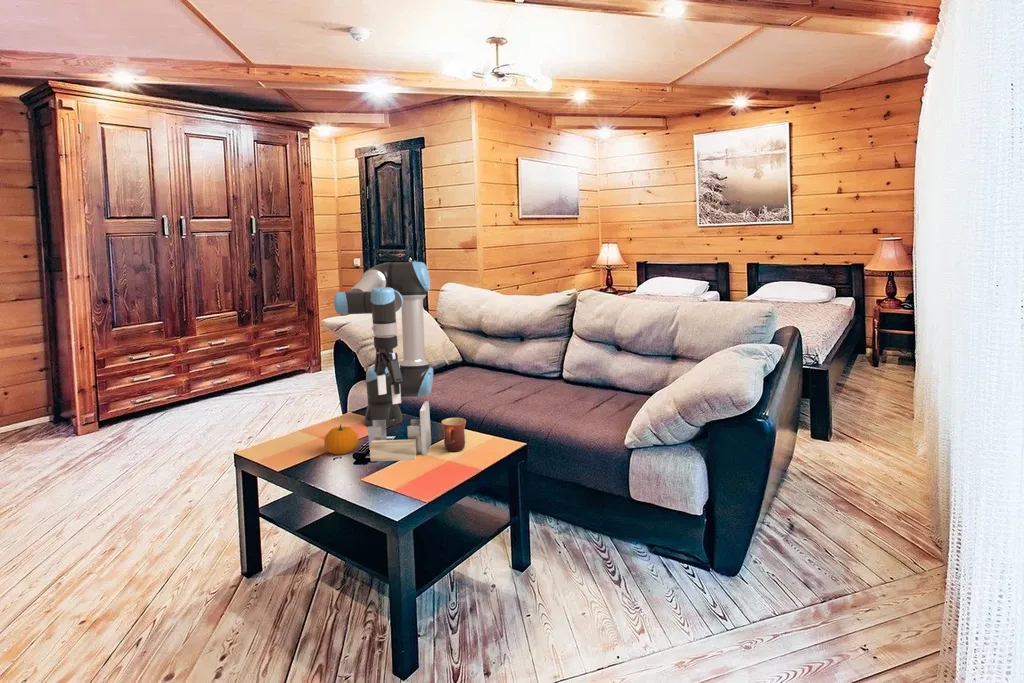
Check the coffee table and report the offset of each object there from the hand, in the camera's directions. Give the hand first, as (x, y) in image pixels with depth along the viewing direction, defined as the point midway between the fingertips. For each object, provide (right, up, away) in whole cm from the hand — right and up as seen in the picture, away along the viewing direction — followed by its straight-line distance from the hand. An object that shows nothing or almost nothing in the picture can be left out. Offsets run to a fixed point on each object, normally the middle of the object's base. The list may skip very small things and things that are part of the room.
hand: (389, 398), depth 203 cm
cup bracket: (+7, -20, +16) cm, 26 cm away
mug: (+20, -20, +14) cm, 31 cm away
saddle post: (-7, -20, +16) cm, 26 cm away
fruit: (-20, -20, +16) cm, 33 cm away
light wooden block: (0, -21, +8) cm, 23 cm away
